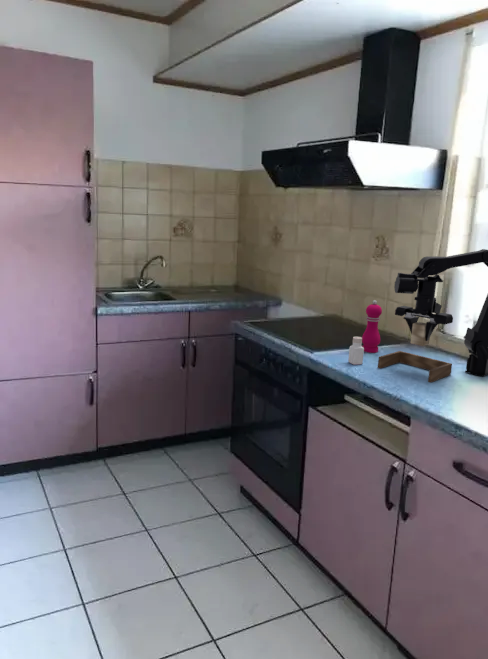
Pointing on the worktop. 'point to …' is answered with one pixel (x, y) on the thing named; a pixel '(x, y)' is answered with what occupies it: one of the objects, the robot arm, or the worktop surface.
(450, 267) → the robot arm
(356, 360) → the salt shaker
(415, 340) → the maple block
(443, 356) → the worktop surface
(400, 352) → the wooden u-shaped frame
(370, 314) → the pepper mill
